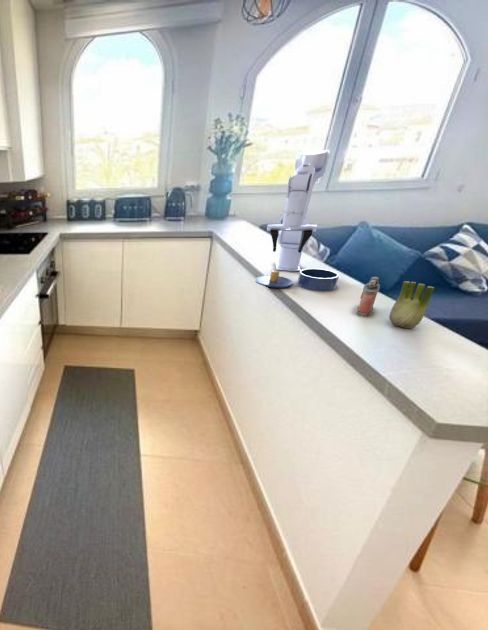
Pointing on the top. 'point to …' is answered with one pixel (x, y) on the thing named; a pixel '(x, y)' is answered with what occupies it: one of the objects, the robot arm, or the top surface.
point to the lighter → (368, 297)
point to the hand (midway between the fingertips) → (286, 251)
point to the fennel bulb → (410, 305)
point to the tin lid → (274, 280)
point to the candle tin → (318, 279)
